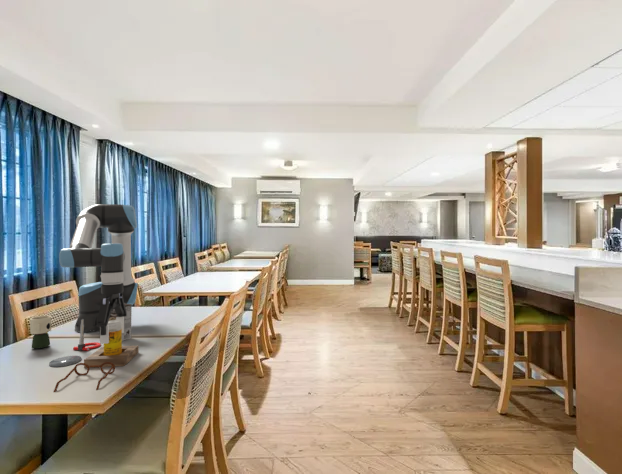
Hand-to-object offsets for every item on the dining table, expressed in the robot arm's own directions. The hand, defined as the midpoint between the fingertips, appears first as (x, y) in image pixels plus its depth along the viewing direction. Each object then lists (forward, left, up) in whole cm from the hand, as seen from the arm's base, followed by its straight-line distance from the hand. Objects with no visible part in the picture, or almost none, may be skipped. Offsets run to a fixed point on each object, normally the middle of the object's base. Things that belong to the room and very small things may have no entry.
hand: (112, 338), depth 134 cm
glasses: (+20, 0, -9) cm, 22 cm away
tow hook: (-17, -17, -9) cm, 26 cm away
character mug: (-19, -37, -9) cm, 43 cm away
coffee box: (-28, -9, -9) cm, 31 cm away
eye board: (0, 0, -9) cm, 9 cm away
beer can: (0, 0, -9) cm, 9 cm away
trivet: (0, -17, -9) cm, 19 cm away
